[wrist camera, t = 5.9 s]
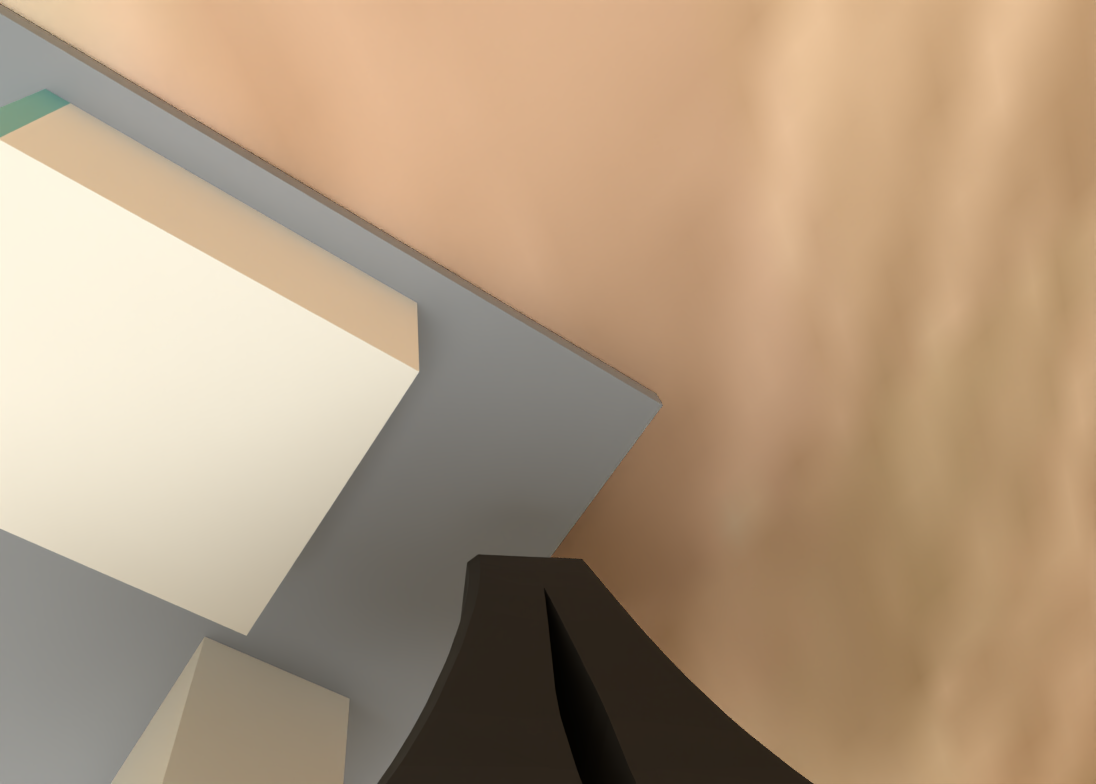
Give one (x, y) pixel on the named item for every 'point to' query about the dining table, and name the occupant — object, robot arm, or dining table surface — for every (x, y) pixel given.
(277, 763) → the slab
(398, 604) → the mat
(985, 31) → the dining table surface
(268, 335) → the slab
